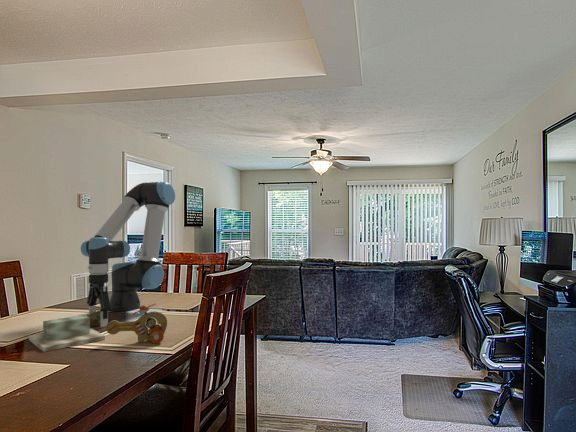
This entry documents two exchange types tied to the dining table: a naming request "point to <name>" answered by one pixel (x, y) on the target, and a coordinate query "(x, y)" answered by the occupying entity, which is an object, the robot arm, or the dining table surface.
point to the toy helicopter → (142, 325)
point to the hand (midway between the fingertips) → (98, 323)
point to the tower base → (65, 341)
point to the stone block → (95, 319)
